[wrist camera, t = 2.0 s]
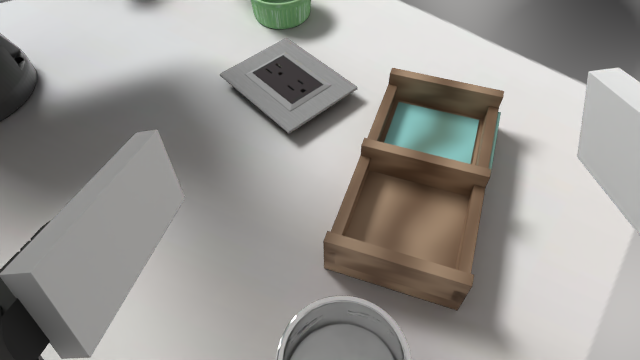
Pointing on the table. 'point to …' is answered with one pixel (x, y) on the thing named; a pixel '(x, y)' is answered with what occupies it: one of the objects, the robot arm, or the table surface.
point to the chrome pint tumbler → (343, 332)
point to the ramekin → (281, 12)
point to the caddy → (419, 189)
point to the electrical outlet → (288, 84)
